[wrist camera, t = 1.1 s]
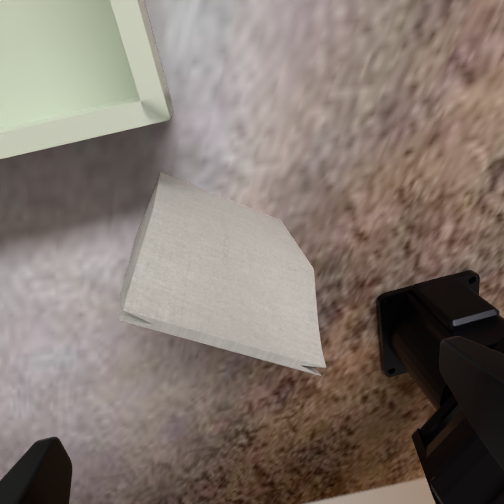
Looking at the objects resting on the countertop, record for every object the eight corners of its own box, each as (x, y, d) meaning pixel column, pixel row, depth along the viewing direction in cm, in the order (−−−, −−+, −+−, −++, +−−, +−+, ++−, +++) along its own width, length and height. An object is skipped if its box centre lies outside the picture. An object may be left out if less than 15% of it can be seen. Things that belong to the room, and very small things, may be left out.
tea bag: (160, 171, 20) (143, 257, 11) (280, 220, 22) (352, 325, 13) (135, 236, 21) (101, 364, 12) (252, 276, 23) (299, 411, 14)
